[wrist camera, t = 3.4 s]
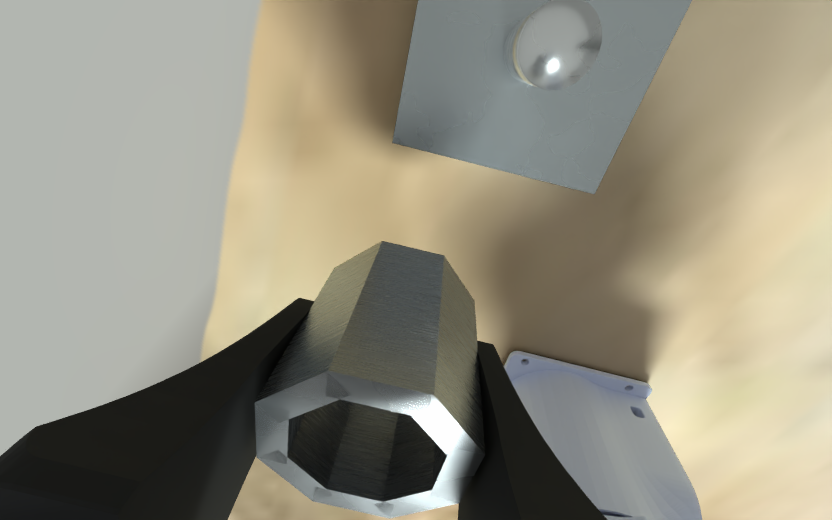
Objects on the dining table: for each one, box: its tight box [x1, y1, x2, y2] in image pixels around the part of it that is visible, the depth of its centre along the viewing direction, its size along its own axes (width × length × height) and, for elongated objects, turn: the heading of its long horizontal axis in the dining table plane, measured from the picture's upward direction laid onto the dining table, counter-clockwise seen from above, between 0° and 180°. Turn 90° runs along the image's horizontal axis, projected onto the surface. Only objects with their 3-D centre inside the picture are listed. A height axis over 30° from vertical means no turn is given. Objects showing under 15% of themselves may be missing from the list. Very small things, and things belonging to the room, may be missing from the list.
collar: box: [255, 241, 485, 518], centre depth 11 cm, size 5×5×6 cm
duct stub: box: [392, 0, 692, 194], centre depth 13 cm, size 10×10×5 cm
